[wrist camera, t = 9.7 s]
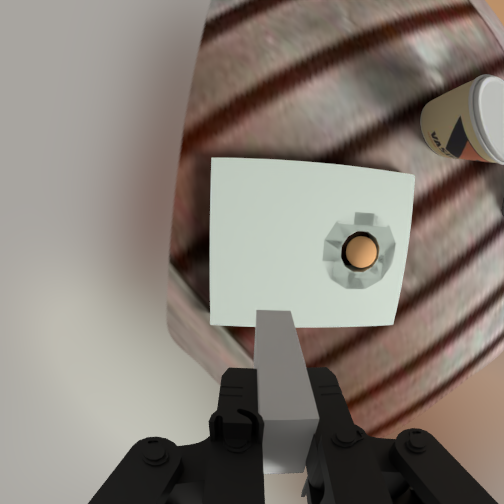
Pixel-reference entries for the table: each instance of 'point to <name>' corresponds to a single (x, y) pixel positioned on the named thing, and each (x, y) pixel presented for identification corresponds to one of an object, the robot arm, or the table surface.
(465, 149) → the coffee cup
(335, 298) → the plate
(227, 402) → the robot arm
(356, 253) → the ball
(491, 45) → the table surface
